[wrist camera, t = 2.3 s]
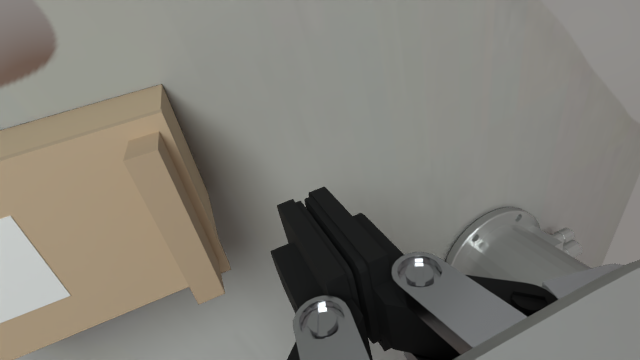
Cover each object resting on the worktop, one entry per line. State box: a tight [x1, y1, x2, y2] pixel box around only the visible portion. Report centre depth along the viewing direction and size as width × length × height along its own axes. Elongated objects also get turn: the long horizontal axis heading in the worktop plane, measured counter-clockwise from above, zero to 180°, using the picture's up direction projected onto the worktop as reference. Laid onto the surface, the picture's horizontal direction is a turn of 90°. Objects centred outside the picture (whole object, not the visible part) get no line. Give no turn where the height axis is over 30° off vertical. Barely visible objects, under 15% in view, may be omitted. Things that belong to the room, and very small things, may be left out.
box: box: [0, 84, 218, 236], centre depth 19 cm, size 16×8×8 cm, turn 103°
